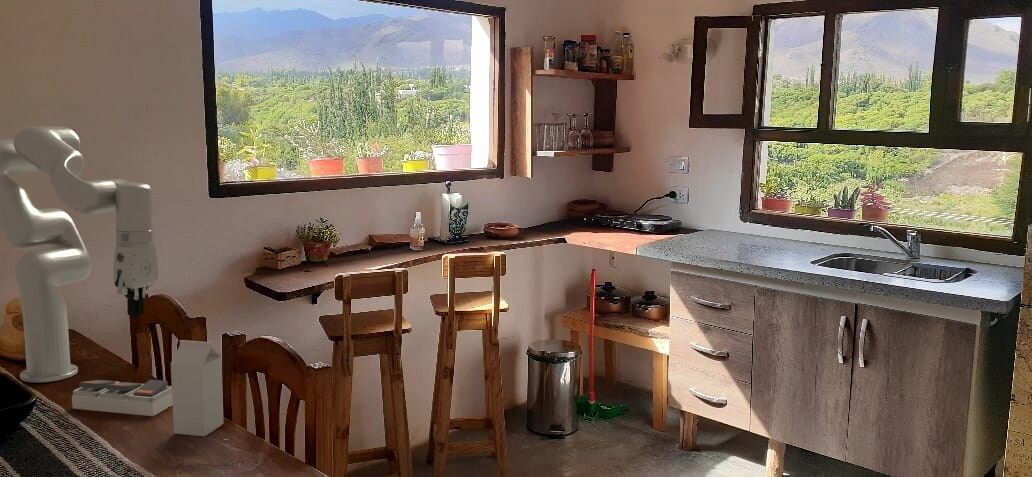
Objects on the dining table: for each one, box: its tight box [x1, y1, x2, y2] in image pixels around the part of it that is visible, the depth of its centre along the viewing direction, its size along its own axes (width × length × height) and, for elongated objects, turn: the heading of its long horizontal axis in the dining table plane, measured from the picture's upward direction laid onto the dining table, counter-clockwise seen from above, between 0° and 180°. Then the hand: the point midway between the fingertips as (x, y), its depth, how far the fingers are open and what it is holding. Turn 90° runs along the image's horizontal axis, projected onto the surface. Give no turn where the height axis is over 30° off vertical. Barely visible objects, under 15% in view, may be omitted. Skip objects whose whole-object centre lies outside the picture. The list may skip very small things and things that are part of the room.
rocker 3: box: [133, 379, 169, 397], centre depth 183 cm, size 4×6×1 cm
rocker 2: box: [106, 381, 142, 391], centre depth 184 cm, size 4×6×1 cm
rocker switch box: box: [71, 380, 173, 417], centre depth 185 cm, size 20×8×4 cm, turn 79°
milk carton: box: [170, 339, 224, 437], centre depth 170 cm, size 7×7×19 cm
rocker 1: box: [78, 379, 116, 389], centre depth 186 cm, size 4×6×1 cm
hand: (135, 314), depth 191 cm, fingers closed
